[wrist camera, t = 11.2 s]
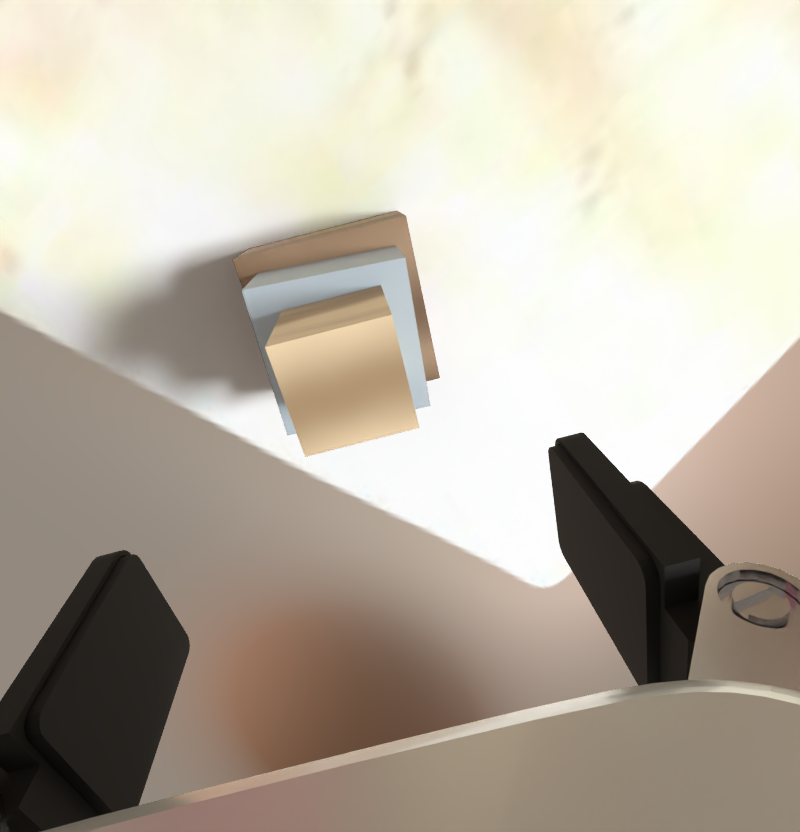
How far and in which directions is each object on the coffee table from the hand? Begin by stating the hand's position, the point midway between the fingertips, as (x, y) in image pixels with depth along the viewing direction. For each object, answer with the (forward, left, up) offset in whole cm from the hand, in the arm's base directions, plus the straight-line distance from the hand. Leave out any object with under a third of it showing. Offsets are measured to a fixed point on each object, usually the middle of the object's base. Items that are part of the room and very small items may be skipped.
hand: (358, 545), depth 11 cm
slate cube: (+1, -1, -21) cm, 21 cm away
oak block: (0, 0, -16) cm, 16 cm away
